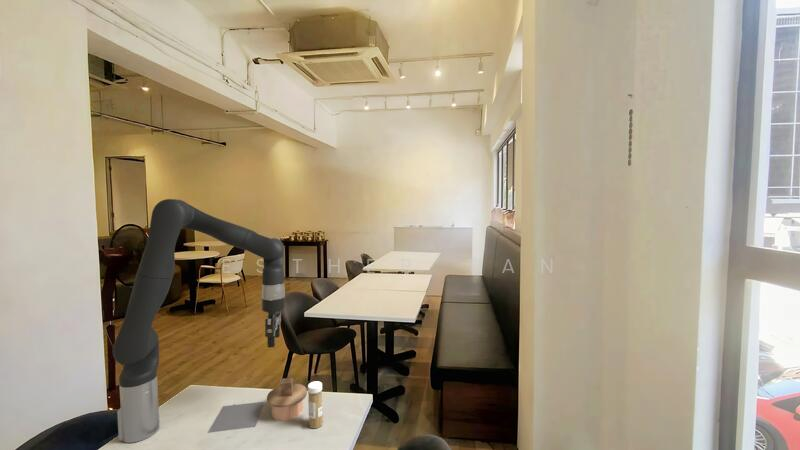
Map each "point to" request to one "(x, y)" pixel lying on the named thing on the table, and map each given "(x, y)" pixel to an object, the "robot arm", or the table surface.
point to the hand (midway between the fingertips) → (273, 342)
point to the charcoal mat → (237, 417)
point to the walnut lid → (286, 394)
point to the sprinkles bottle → (315, 404)
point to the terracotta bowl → (287, 411)
